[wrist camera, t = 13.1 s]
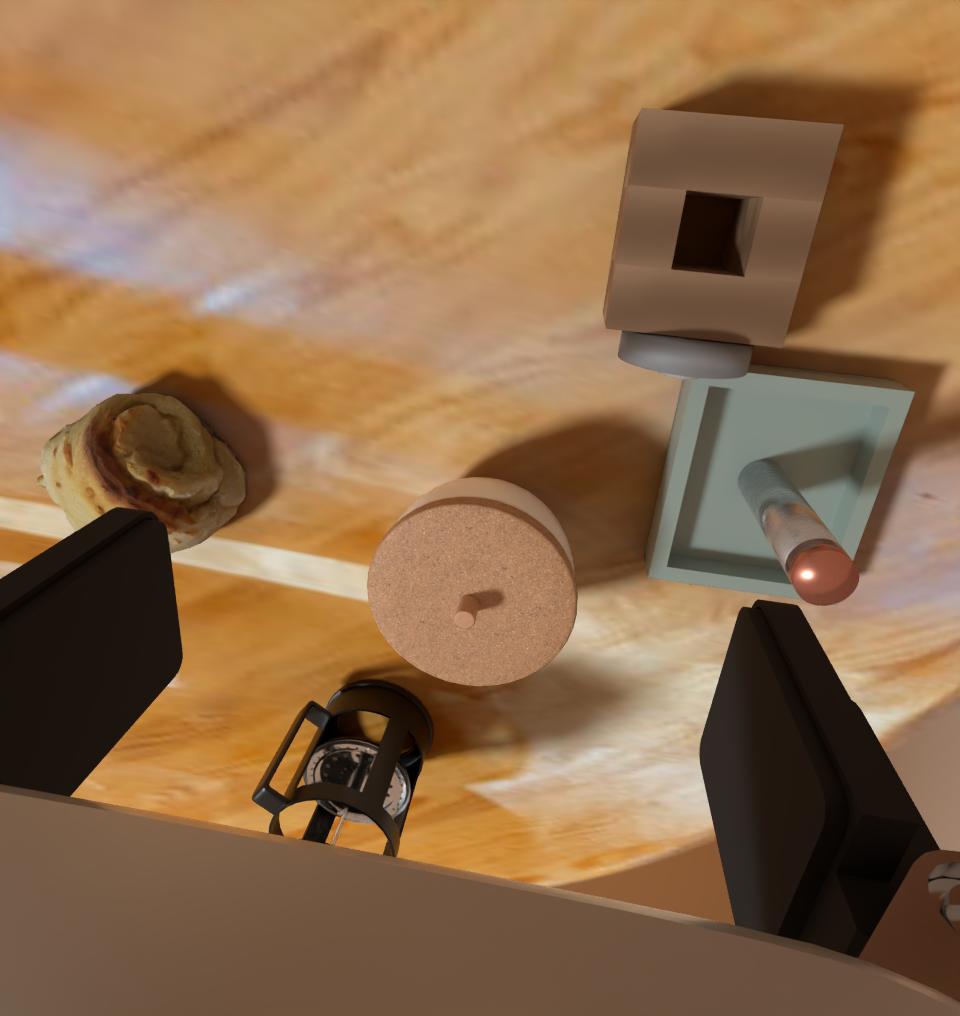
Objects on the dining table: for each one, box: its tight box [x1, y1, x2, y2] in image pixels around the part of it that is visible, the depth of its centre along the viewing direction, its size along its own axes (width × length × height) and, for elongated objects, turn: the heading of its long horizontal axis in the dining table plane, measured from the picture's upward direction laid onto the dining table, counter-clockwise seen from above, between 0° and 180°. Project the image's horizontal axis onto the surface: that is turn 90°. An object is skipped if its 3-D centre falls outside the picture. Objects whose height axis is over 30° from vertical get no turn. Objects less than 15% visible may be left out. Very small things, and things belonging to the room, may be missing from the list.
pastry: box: [36, 393, 247, 553], centre depth 45 cm, size 14×12×8 cm
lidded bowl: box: [367, 477, 578, 686], centre depth 42 cm, size 13×13×11 cm
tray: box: [644, 364, 915, 605], centre depth 41 cm, size 14×12×3 cm
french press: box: [252, 680, 434, 857], centre depth 46 cm, size 12×9×23 cm
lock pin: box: [738, 459, 859, 606], centre depth 36 cm, size 3×3×12 cm
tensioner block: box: [603, 108, 844, 379], centre depth 35 cm, size 12×9×8 cm
